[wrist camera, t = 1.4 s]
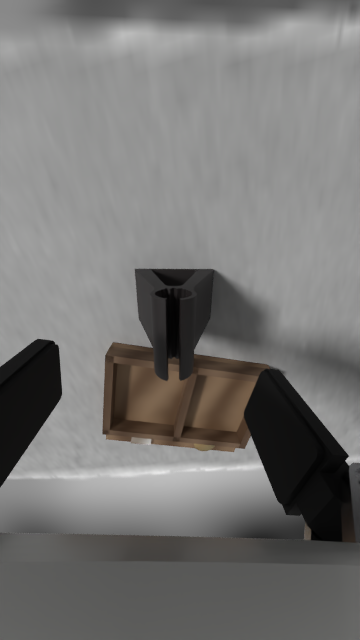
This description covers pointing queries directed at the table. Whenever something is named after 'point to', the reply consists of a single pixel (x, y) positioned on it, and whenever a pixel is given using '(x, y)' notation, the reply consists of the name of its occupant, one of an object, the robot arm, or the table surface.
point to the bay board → (177, 400)
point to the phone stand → (174, 313)
